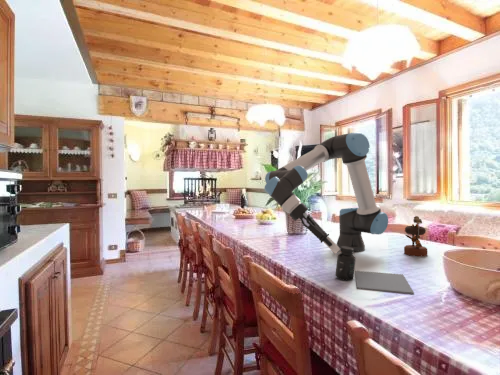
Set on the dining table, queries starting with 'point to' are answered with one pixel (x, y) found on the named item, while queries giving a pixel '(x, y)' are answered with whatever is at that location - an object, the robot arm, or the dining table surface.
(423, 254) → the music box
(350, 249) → the supplement bottle
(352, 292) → the dining table surface
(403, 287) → the mat
